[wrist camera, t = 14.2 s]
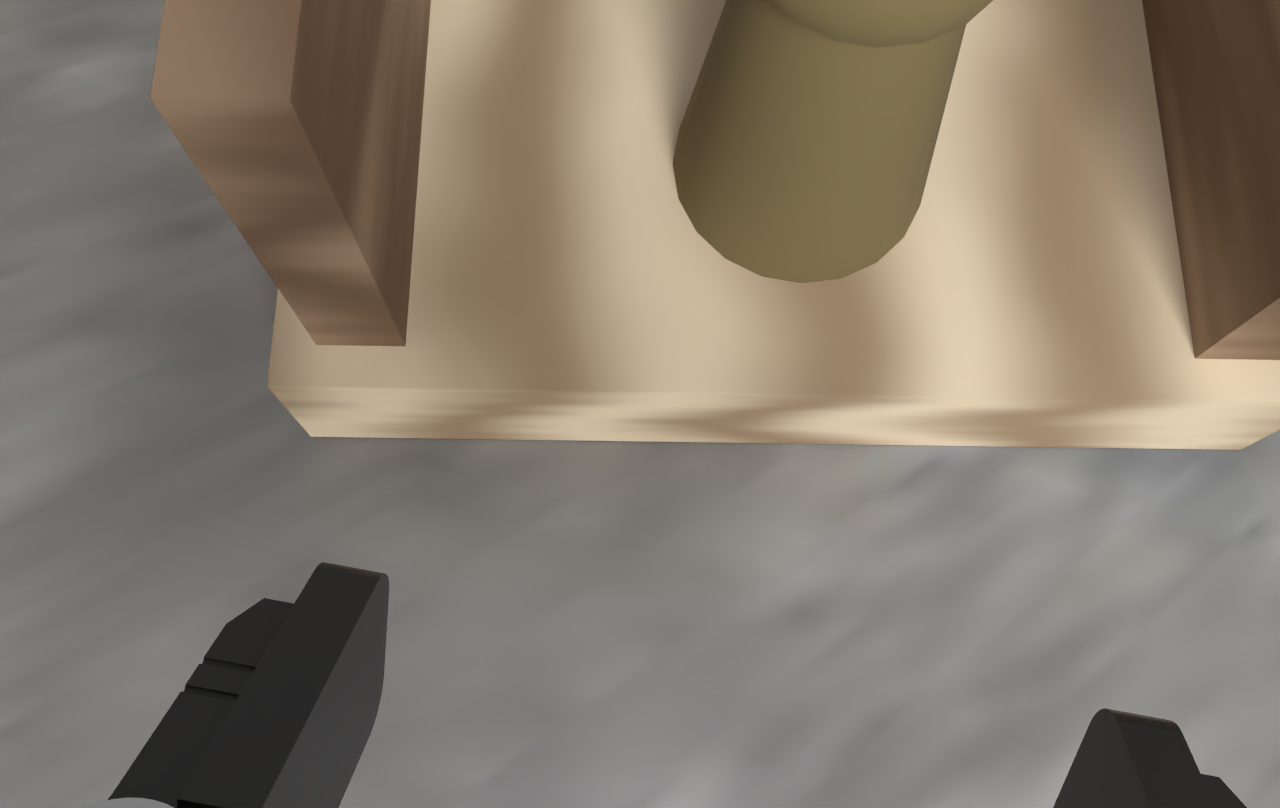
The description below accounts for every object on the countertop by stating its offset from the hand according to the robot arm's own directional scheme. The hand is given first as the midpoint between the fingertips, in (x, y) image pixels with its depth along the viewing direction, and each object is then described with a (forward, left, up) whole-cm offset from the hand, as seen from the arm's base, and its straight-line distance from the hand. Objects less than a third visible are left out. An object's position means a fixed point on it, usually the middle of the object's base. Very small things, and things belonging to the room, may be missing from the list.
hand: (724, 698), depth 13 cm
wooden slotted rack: (+3, +13, -15) cm, 21 cm away
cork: (+3, +13, -11) cm, 18 cm away
